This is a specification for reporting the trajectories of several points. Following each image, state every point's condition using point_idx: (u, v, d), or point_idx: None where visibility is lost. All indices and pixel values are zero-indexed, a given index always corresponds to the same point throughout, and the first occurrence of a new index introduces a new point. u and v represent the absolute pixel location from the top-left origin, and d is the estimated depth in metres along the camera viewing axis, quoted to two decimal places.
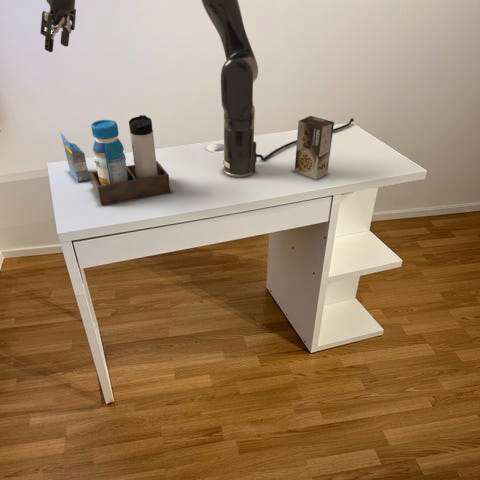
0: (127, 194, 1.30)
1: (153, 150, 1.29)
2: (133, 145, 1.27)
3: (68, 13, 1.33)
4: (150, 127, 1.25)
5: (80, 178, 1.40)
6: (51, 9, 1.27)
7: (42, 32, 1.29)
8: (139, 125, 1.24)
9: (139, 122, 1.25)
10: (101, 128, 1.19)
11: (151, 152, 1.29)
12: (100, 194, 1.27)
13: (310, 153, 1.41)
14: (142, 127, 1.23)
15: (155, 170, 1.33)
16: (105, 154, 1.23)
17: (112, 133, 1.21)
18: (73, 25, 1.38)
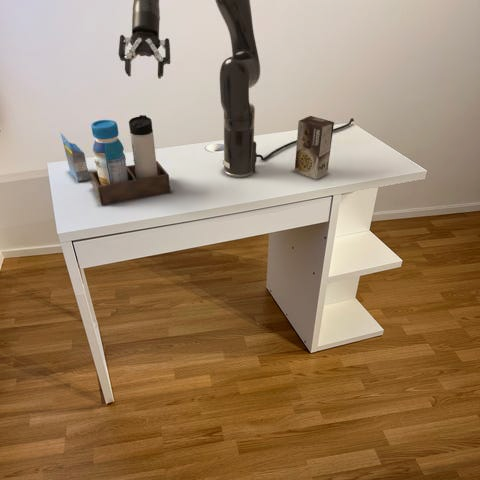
0: (127, 194, 1.30)
1: (153, 150, 1.29)
2: (133, 145, 1.27)
3: (154, 40, 1.29)
4: (150, 127, 1.25)
5: (80, 178, 1.40)
6: None
7: None
8: (139, 125, 1.24)
9: (140, 122, 1.25)
10: (101, 128, 1.19)
11: (151, 152, 1.29)
12: (100, 194, 1.27)
13: (310, 153, 1.41)
14: (142, 127, 1.23)
15: (155, 170, 1.33)
16: (105, 154, 1.23)
17: (112, 133, 1.21)
18: (166, 54, 1.29)
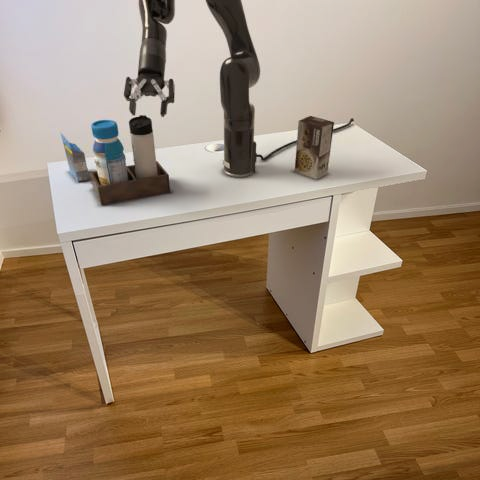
0: (127, 194, 1.30)
1: (153, 150, 1.29)
2: (133, 145, 1.27)
3: (159, 81, 1.31)
4: (150, 127, 1.25)
5: (80, 178, 1.40)
6: None
7: None
8: (139, 125, 1.24)
9: (140, 122, 1.25)
10: (101, 128, 1.19)
11: (151, 152, 1.29)
12: (100, 194, 1.27)
13: (310, 153, 1.41)
14: (142, 127, 1.23)
15: (155, 170, 1.33)
16: (105, 154, 1.23)
17: (112, 133, 1.21)
18: (170, 93, 1.31)
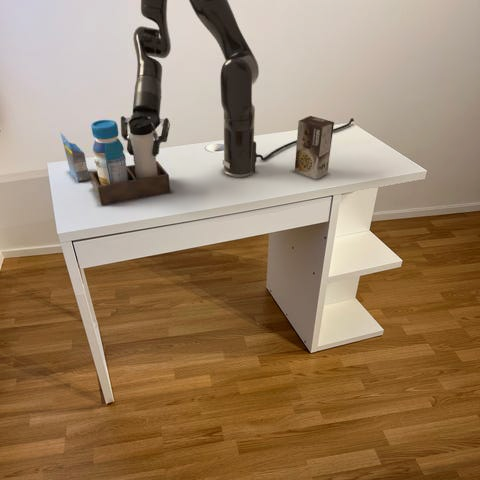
0: (127, 194, 1.30)
1: None
2: (133, 145, 1.27)
3: (154, 119, 1.29)
4: (150, 127, 1.25)
5: (80, 178, 1.40)
6: None
7: None
8: (139, 125, 1.24)
9: (139, 122, 1.25)
10: (101, 128, 1.19)
11: (151, 152, 1.29)
12: (100, 194, 1.27)
13: (310, 153, 1.41)
14: (142, 127, 1.23)
15: (155, 170, 1.33)
16: (105, 154, 1.23)
17: (112, 133, 1.21)
18: (163, 133, 1.28)
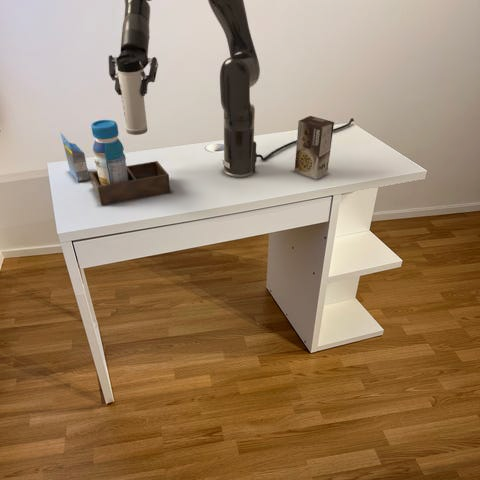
0: (127, 194, 1.30)
1: None
2: (121, 83, 1.27)
3: (142, 58, 1.29)
4: (138, 64, 1.25)
5: (80, 178, 1.40)
6: None
7: None
8: (127, 62, 1.24)
9: (127, 60, 1.25)
10: (101, 128, 1.19)
11: (139, 91, 1.28)
12: (100, 194, 1.27)
13: (310, 153, 1.41)
14: (129, 63, 1.23)
15: (143, 111, 1.33)
16: (105, 154, 1.23)
17: (112, 133, 1.21)
18: (150, 72, 1.28)
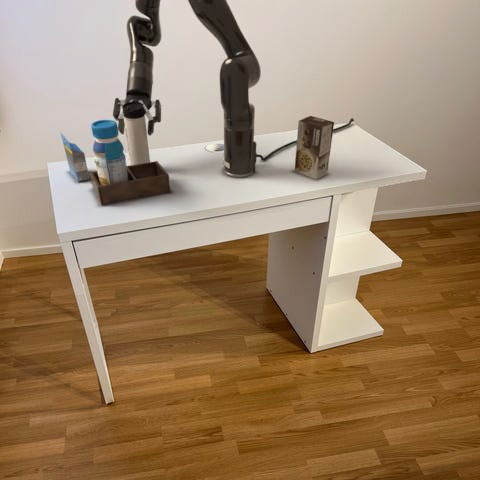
0: (127, 194, 1.30)
1: (145, 133, 1.39)
2: (126, 128, 1.37)
3: (146, 101, 1.39)
4: (142, 111, 1.35)
5: (80, 178, 1.40)
6: None
7: None
8: (132, 109, 1.34)
9: (132, 107, 1.35)
10: (101, 128, 1.19)
11: (143, 134, 1.39)
12: (100, 194, 1.27)
13: (310, 153, 1.41)
14: (134, 111, 1.33)
15: (147, 152, 1.43)
16: (105, 154, 1.23)
17: (112, 133, 1.21)
18: (156, 114, 1.38)
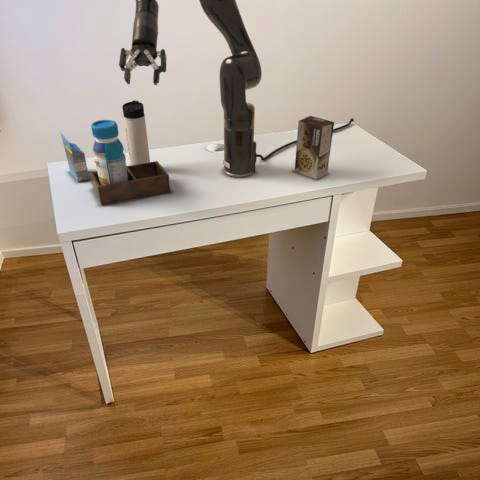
0: (127, 194, 1.30)
1: (145, 133, 1.39)
2: (126, 128, 1.37)
3: (151, 51, 1.41)
4: (142, 111, 1.35)
5: (80, 178, 1.40)
6: None
7: None
8: (132, 109, 1.34)
9: (132, 107, 1.35)
10: (101, 128, 1.19)
11: (143, 134, 1.39)
12: (100, 194, 1.27)
13: (310, 153, 1.41)
14: (134, 111, 1.33)
15: (147, 152, 1.43)
16: (105, 154, 1.23)
17: (112, 133, 1.21)
18: (162, 63, 1.41)
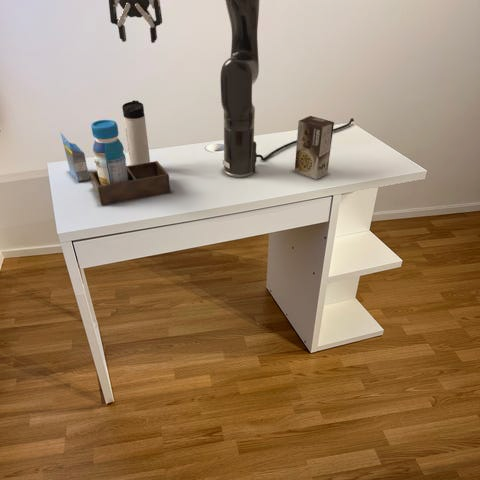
0: (127, 194, 1.30)
1: (145, 133, 1.39)
2: (126, 128, 1.37)
3: (143, 2, 1.26)
4: (142, 111, 1.35)
5: (80, 178, 1.40)
6: None
7: None
8: (132, 109, 1.35)
9: (132, 107, 1.35)
10: (101, 128, 1.19)
11: (143, 134, 1.39)
12: (100, 194, 1.27)
13: (310, 153, 1.41)
14: (134, 111, 1.33)
15: (147, 152, 1.43)
16: (105, 154, 1.23)
17: (112, 133, 1.21)
18: (157, 19, 1.28)
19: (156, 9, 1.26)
